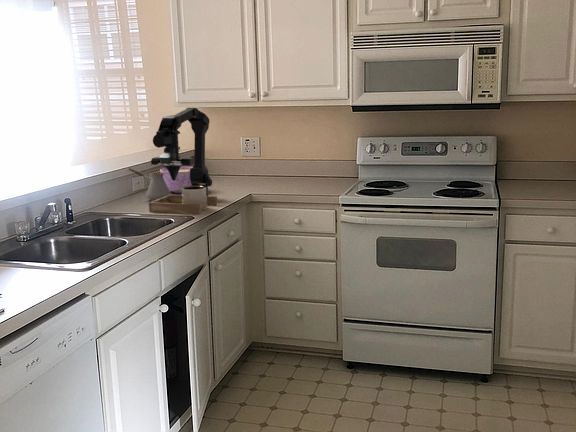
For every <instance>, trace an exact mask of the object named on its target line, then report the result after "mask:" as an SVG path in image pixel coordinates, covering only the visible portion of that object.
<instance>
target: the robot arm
mask: <svg viewBox="0 0 576 432" xmlns="http://www.w3.org/2000/svg"><path fill="white" fill-rule="evenodd" d="M187 121H188V123H189V124H190V128H191V130H192V132H193V134H194V151H193V152H194V154H193V155H194V157H183V158H181V156H180V150H181V147H180V146H179V135H180V134H181V132H180V131H179V129H180V127H182V124H183V123H185V122H187ZM209 126H210V118H209V117H208V115H207V114H206V113H204V112H203V111H201V110H199V109H198V108H197V107H186V108H185V109H183V110H182V111H180V112H177V113H175V114H172V115H165V116H163V117H162V119H161V121H160V123H159V127H158V129H157V131H156V134H155V135H154V136H153V138H152V143H153V145H154V146H155V147H156V148H163V152H162V154H160V155H159V156H156V157H152V158H151V160H150V165H152V166H153V165H155V166H157V165H159V164H160V165H162V167H164V168H167V169H168V171H169V173H170V176H171V178H172V180H173V181H175V180H176V177H177V174H178V171H179V169H180V167H184V166H191V167H192V168H190V180H191V184H192V186H205V187H206V196H209V187H211V186H213V180H212V178H211V177H210V175H209V170H208V168H207V165H206V164H205V163H206V134H207V132H208V130H209V128H210V127H209ZM192 165H193V166H192Z"/></svg>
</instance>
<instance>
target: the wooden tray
mask: <svg viewBox="0 0 576 432" xmlns="http://www.w3.org/2000/svg"><path fill="white" fill-rule="evenodd" d="M207 206H218V196H214V195H213V196H212V195H208V196H207ZM148 209H149V213H166V212H169V213H170V214H189V215H190V214H192V215H193V214H194V215H200V214H201V210H200V204H182V194H171V195H168V196H165V197H162V198H160V199H157V200H155V201H149V202H148ZM169 213H168V214H169Z"/></svg>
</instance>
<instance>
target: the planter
mask: <svg viewBox="0 0 576 432" xmlns="http://www.w3.org/2000/svg"><path fill="white" fill-rule="evenodd" d="M181 195H182V204H200V211H204V210H206V209H207V208H208V205H207V196H206V187H205V186H186V187H183V188H182V193H181Z"/></svg>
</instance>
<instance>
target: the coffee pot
mask: <svg viewBox="0 0 576 432" xmlns="http://www.w3.org/2000/svg"><path fill="white" fill-rule="evenodd" d="M130 171H131V172H132V173H134V174H136V175H139V176H141V177H144V178H146V179H147V180H149V181H150V183H149V186H148V189H147V191H146V193H145V195H146V197H147V199H149V201H150V202H152V201H155V200H157V199H160V198H162V197H165V196H168V195H172V193H171V190H169V189H168V187H167V185H166V183H165V181H164V179H163V174H164V173H161V172H160V171H159V172H151V173H150V176H151V177H149V176H147V175H145V174H143V173H141V172H140V171H137V170H134V169H132V168H129V167H128V169H127V170H126V172H127V173H129V172H130Z"/></svg>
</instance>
